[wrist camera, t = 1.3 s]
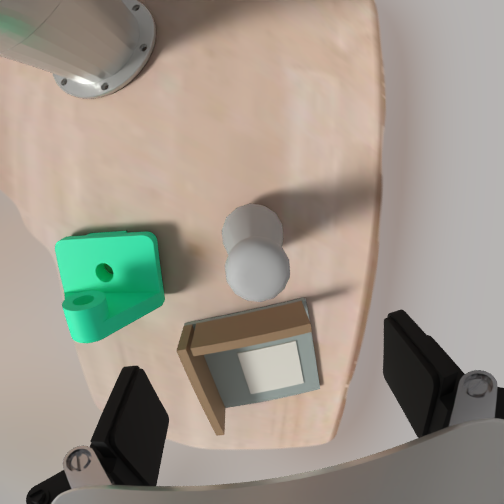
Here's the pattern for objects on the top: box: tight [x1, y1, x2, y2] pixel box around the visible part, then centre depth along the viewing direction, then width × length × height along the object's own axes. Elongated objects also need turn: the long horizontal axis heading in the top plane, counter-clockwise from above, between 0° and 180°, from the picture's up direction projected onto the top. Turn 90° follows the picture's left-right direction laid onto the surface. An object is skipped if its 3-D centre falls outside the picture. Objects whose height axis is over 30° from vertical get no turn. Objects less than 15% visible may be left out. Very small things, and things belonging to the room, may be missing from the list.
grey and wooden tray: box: [177, 297, 320, 435], centre depth 34 cm, size 14×14×6 cm
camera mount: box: [55, 231, 165, 343], centre depth 28 cm, size 12×8×10 cm, turn 92°
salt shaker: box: [222, 203, 290, 302], centre depth 26 cm, size 6×6×13 cm
